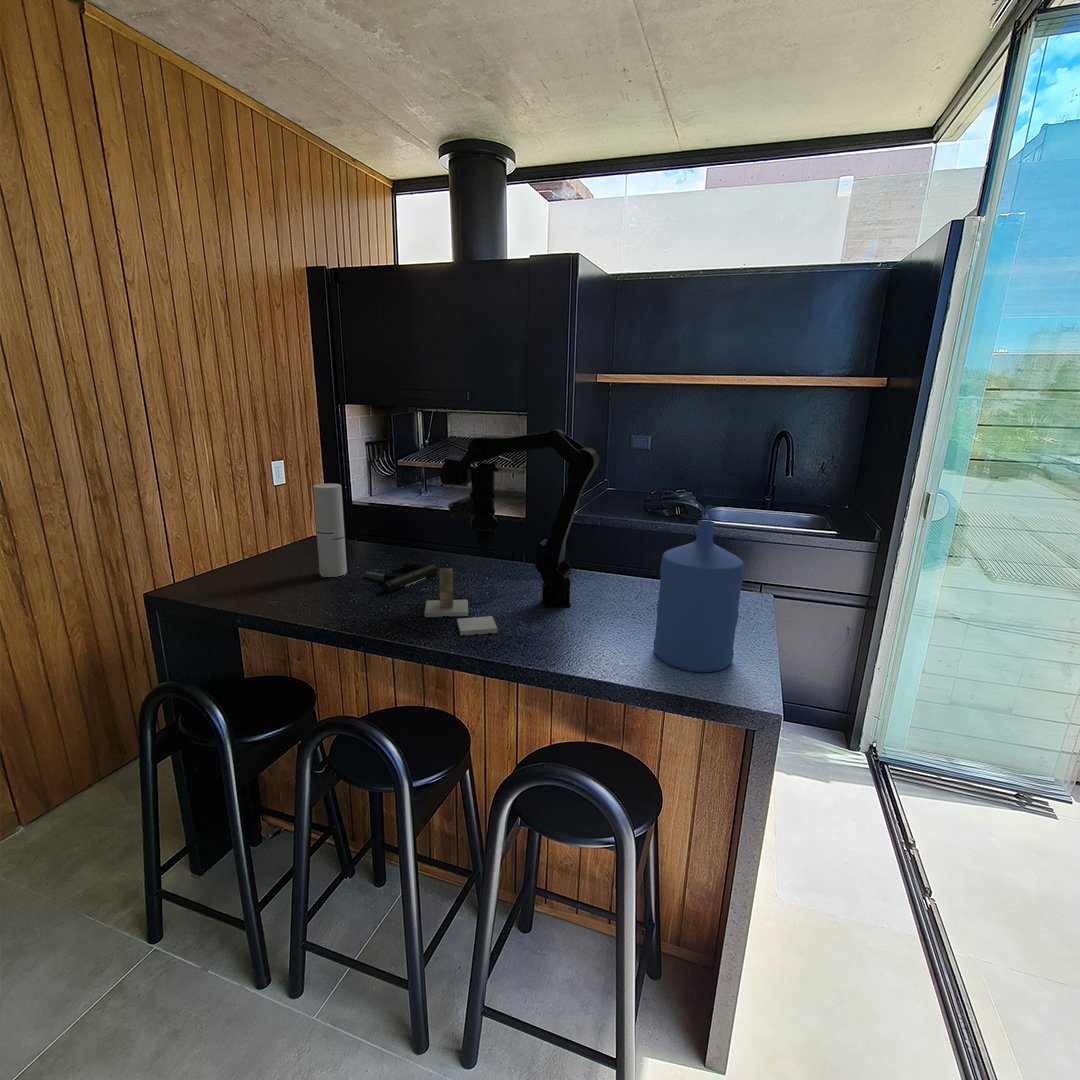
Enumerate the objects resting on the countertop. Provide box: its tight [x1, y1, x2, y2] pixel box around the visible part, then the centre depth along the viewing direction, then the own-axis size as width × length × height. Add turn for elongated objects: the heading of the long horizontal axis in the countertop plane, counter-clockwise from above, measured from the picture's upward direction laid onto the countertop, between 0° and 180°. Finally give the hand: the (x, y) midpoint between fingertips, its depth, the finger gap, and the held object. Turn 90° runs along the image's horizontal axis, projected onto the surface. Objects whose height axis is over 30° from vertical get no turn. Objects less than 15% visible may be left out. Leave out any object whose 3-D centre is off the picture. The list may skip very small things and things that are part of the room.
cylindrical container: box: [312, 483, 348, 578], centre depth 155 cm, size 7×7×25 cm
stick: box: [438, 567, 454, 609], centre depth 133 cm, size 3×3×9 cm
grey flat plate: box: [424, 599, 469, 618], centre depth 135 cm, size 10×8×1 cm
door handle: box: [364, 561, 439, 593], centre depth 156 cm, size 3×20×16 cm
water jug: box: [653, 519, 745, 673], centre depth 111 cm, size 16×16×28 cm
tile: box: [456, 615, 498, 637], centre depth 125 cm, size 8×2×7 cm
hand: (482, 548), depth 144 cm, fingers open, 9 cm apart
